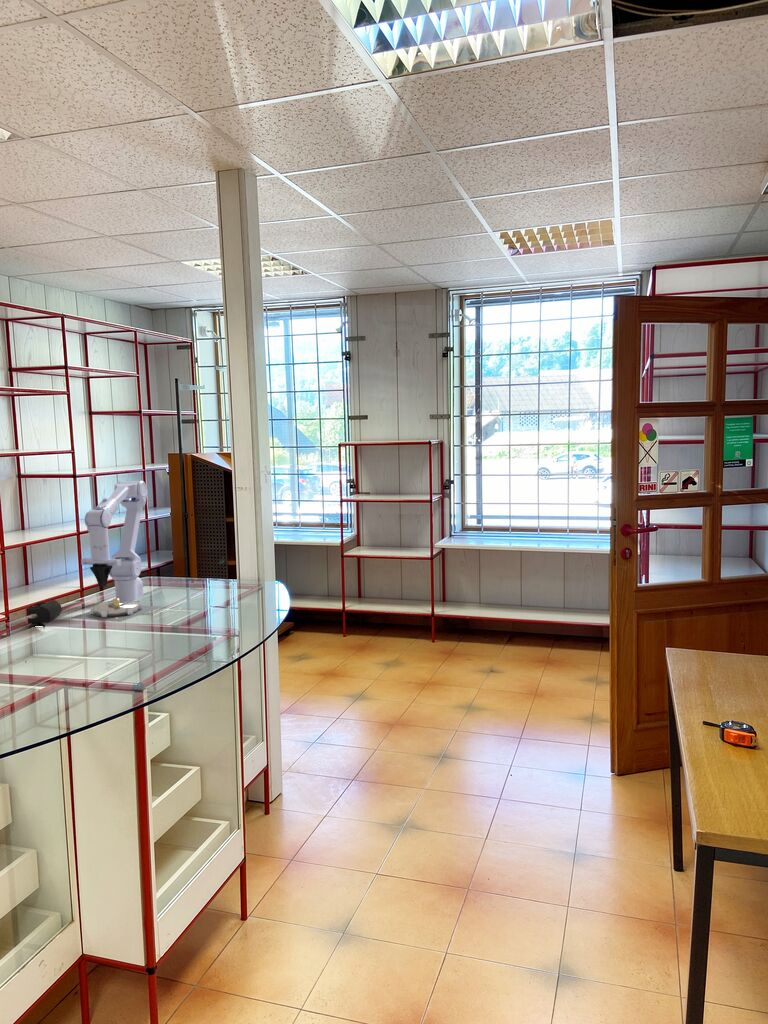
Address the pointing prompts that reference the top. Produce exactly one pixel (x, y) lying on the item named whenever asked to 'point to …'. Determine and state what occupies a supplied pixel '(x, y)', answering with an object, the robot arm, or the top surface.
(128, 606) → the lugged metal disc
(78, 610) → the top surface
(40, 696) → the top surface
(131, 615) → the base plate
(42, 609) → the electric motor
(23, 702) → the top surface
